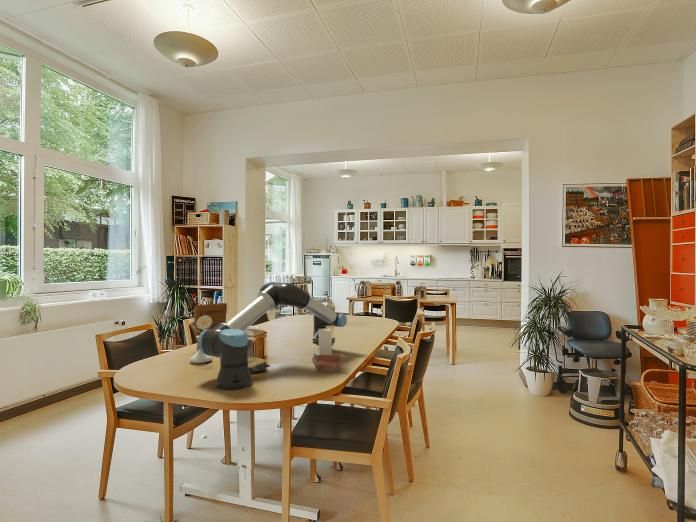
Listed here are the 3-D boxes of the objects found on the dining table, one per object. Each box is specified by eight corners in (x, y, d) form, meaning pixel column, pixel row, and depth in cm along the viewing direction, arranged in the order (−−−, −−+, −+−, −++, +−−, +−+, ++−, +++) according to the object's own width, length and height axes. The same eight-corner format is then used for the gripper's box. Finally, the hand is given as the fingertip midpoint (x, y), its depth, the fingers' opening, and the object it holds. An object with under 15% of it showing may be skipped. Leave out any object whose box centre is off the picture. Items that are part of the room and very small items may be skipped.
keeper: (318, 359, 210) (318, 328, 210) (330, 359, 211) (329, 328, 211) (320, 362, 204) (319, 330, 204) (331, 362, 205) (331, 330, 205)
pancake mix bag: (228, 349, 245) (227, 303, 245) (194, 352, 239) (193, 304, 238) (227, 347, 252) (226, 302, 251) (194, 350, 245) (193, 303, 245)
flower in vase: (184, 363, 213) (184, 316, 213) (199, 358, 224) (198, 313, 224) (205, 365, 209) (205, 317, 209) (219, 360, 220) (218, 314, 220)
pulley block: (249, 347, 221) (271, 359, 196) (251, 358, 222) (273, 370, 197) (223, 355, 213) (242, 368, 188) (225, 366, 214) (245, 380, 189)
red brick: (312, 360, 218) (312, 345, 218) (332, 359, 220) (332, 344, 220) (317, 372, 194) (317, 356, 194) (340, 371, 196) (340, 354, 196)
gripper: (333, 343, 236) (340, 353, 213) (310, 345, 233) (315, 354, 210) (333, 330, 236) (340, 338, 212) (310, 331, 233) (315, 340, 210)
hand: (328, 346), depth 211 cm, fingers closed
